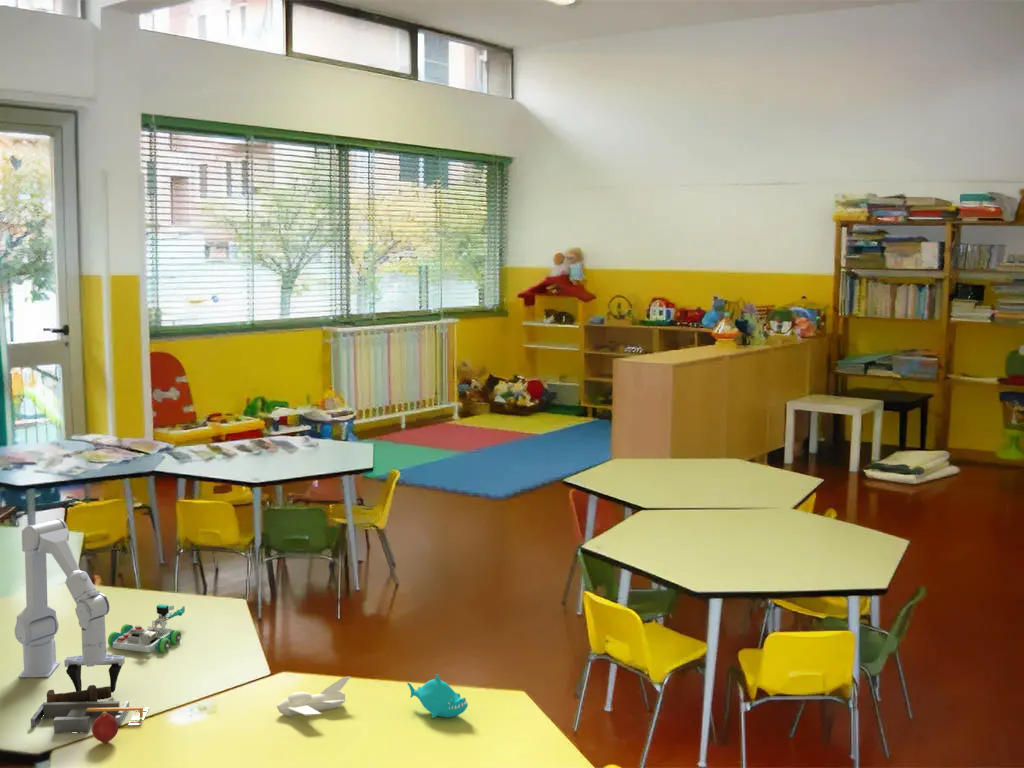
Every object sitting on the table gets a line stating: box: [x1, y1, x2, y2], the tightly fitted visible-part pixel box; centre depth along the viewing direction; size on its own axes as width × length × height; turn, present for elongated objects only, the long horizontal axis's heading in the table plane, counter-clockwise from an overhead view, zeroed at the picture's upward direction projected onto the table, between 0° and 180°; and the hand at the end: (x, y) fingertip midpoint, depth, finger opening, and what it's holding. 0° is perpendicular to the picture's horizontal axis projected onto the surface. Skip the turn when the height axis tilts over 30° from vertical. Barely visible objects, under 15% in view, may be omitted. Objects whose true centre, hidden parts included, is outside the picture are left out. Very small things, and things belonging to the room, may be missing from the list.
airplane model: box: [276, 676, 352, 717], centre depth 268 cm, size 20×20×8 cm
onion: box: [91, 712, 119, 745], centre depth 248 cm, size 6×6×8 cm
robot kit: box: [107, 603, 186, 654], centre depth 310 cm, size 19×25×9 cm
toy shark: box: [407, 673, 469, 718], centre depth 268 cm, size 10×18×11 cm, turn 62°
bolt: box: [46, 684, 112, 702], centre depth 267 cm, size 6×5×15 cm
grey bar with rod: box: [43, 700, 144, 719], centre depth 259 cm, size 6×24×4 cm, turn 96°
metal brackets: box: [30, 700, 150, 734], centre depth 259 cm, size 12×26×4 cm, turn 96°
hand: (95, 691), depth 272 cm, fingers open, 7 cm apart
